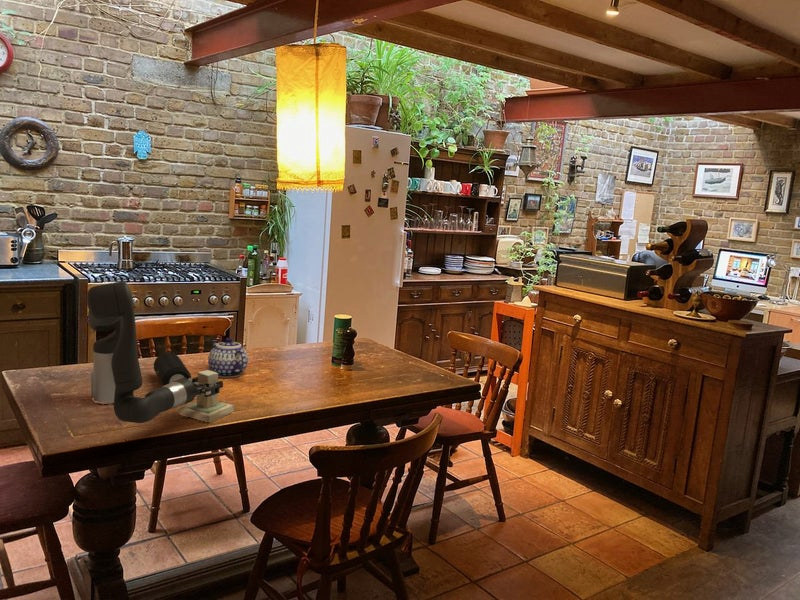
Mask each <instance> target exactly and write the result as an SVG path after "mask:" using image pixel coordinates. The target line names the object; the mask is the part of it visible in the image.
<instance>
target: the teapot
mask: <svg viewBox="0 0 800 600" xmlns="http://www.w3.org/2000/svg"><path fill="white" fill-rule="evenodd" d="M212 345H213V348H212V349H211V350H210V351H209V354H208V358H207V361H208V362H207V364H208V368H209V370H210V371H213V372H216V373H218V378H221V377H223V378H222V379H231V378H237V377H240V376H241V375H242V373H244V372H245V370H246V368H247V367H248V361H249V356H248V352H247V349H245V348H244V347H243V346H242V344H241V343H240V342H235V341H233V338H232V337H226V338H225V341H221V342H220V341H219V340H217V339H216V340H215V339H214V340H212Z"/></svg>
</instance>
